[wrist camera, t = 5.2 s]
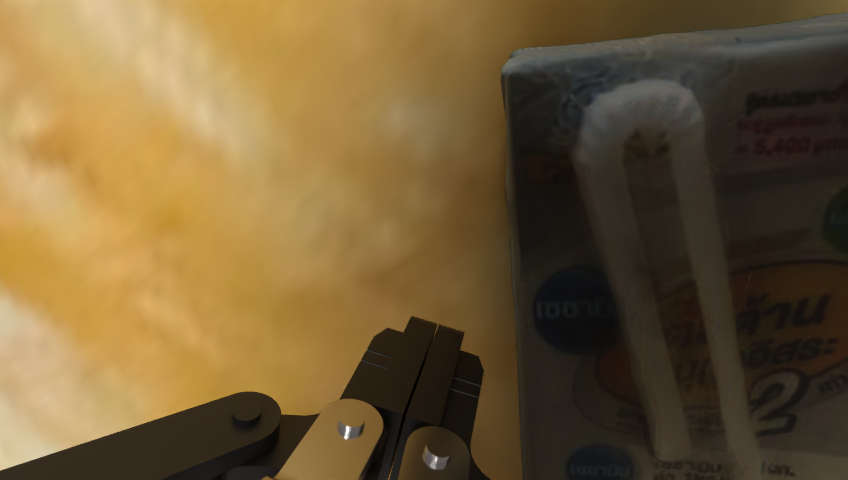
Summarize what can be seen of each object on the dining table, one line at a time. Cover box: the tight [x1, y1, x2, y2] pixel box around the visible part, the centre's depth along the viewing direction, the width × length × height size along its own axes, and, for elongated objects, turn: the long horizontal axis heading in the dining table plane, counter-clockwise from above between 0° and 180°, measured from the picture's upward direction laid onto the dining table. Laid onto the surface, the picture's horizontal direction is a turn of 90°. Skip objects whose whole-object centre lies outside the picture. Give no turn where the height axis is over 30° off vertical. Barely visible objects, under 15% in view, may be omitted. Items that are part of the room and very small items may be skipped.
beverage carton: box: [501, 12, 848, 480], centre depth 13 cm, size 8×19×7 cm, turn 7°
